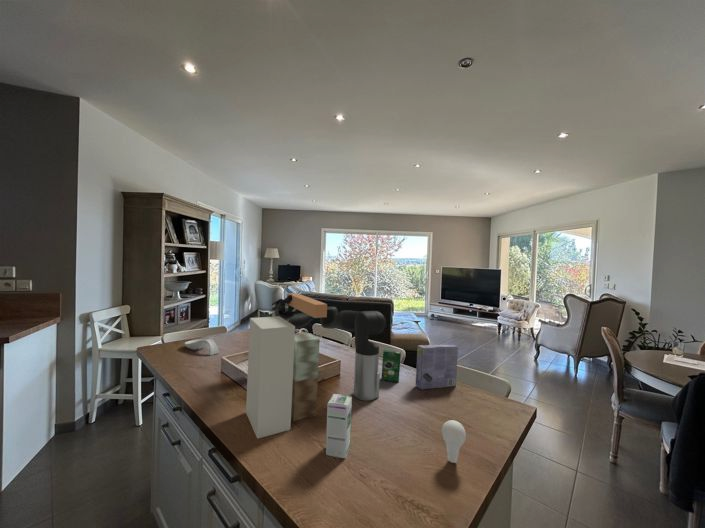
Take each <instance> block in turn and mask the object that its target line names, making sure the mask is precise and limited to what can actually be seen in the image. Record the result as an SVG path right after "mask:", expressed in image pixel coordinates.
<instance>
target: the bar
mask: <svg viewBox="0 0 705 528" xmlns="http://www.w3.org/2000/svg"><path fill="white" fill-rule="evenodd" d="M286 295H287V296H289V295H292V301H291V302H290V303H289V304H288V305H290V306H292V307H294V308H296V309H298V310H297V311H300V312H301V313H306V314H308V315H310V316H312V317H314V318H313V319H320V318H322V317H327V307H328V303H325V302H322V301H319V300H318V299H315V298H311V297H308V296H306V295H304V296H303V295H302V294H300V293H297V292H296V293H293V292H291V293H289V292H288V293H286ZM287 296H286V297H287Z"/></svg>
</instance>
